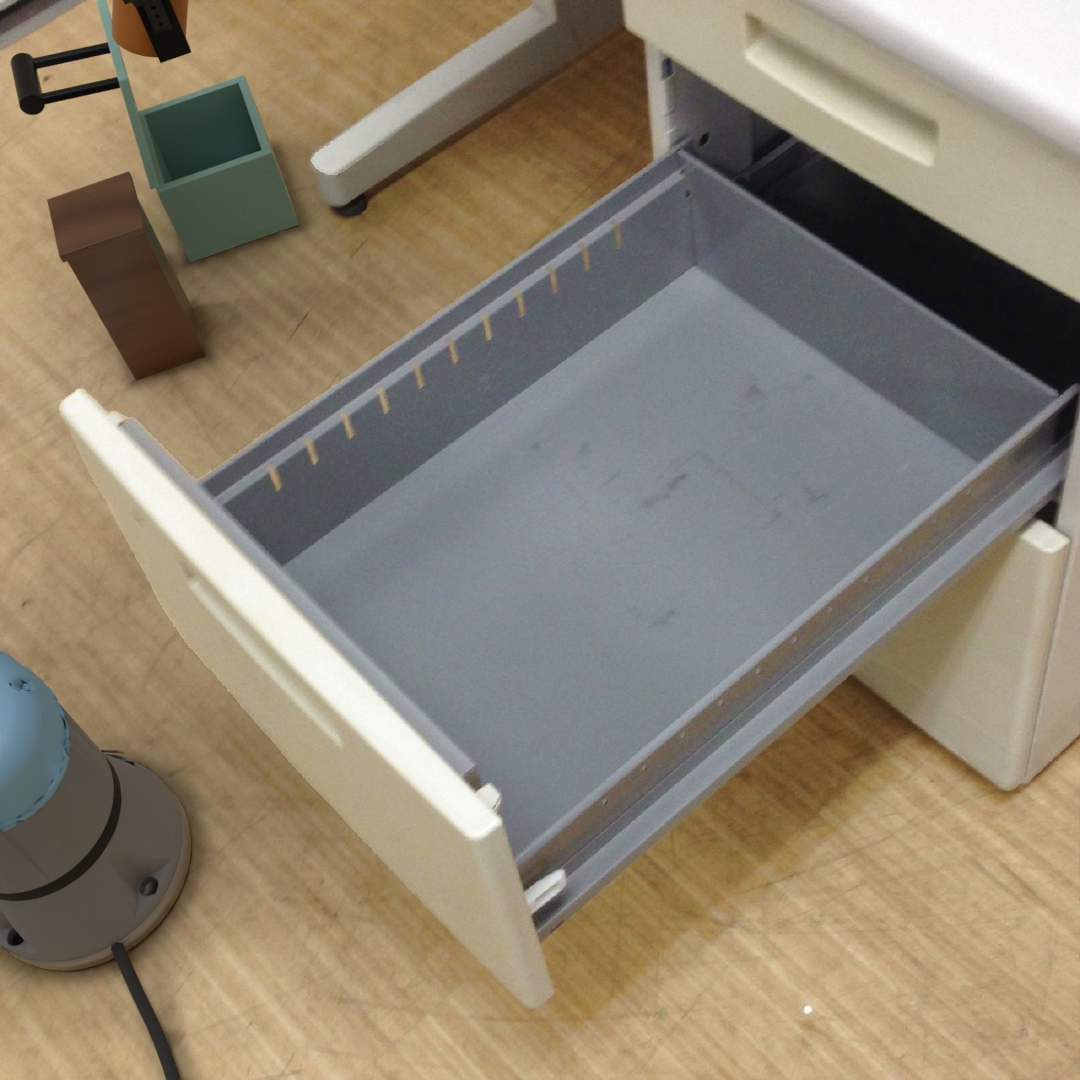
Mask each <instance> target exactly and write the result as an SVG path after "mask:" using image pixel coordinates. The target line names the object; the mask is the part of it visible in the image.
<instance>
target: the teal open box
mask: <svg viewBox="0 0 1080 1080" xmlns="http://www.w3.org/2000/svg"><path fill="white" fill-rule="evenodd" d="M138 113H139V116H140V120H141V123H142V127H143V130H144V134H145V137H146V141H147V144H148V148H149V152H150V155H151V159H152V162H153V166H154V169H155V173H156V176H157V180H158V183H159V187H158V188H155V190H156V194H157V196H158V197H159V199H160V202H161V204H162V206H163V208H164V210H165V213H166V215H167V216H168V218H169V220H170V222H171V224H172V226H173V229H174V231H175V232H176V234H177V237H178V239H179V241H180V243H181V246H182V247H183V249H184V252H185V253H186V256H187V258H188V260H189V262H190V263H193V262H196V261H200V260H202V259H204V258H208V257H211V256H213V255H217V254H219V253H222V252H225V251H227V250H230V249H233V248H236V247H239V246H242V245H245V244H248V243H250V242H253V241H257V240H259V239H262V238H264V237H268V236H270V235H274V234H276V233H279V232H282V231H285V230H287V229H291V228H294V227H296V226H299V225H300V222H299V221H300V220H299V219H298V215H297V213H296V210H295V208H294V205H293V202H292V199H291V196H290V194H289V191H288V187H287V185H286V182H285V179H284V177H283V174H282V171H281V168H280V166H279V163H278V159H277V157H276V154H275V152H274V149H273V146H272V143H271V140H270V139H269V136H268V132H267V130H266V128H265V126H264V122H263V120H262V117H261V115H260V112H259V109H258V107H257V105H256V102H255V99H254V97H253V94H252V91H251V89H250V86H249V84H248V81H247V77H246V76H245V74H243V75H239V76H237V77H234V78H231V79H228V80H224V81H222V82H219V83H217V84H213V85H211V86H208V87H205V88H202V89H199V90H196V91H194V92H190V93H187V94H184V95H181V96H178V97H176V98H172V99H170V100H166V101H164V102H161V103H158V104H155V105H153V106H149V107H147V108H143V109H141V110H138Z"/></svg>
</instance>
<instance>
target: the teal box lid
mask: <svg viewBox="0 0 1080 1080" xmlns="http://www.w3.org/2000/svg"><path fill="white" fill-rule="evenodd" d="M96 5H97V8H98V12H99V16H100V20H101V23H102V28H103V30H104V35H105V38H106V41H107V42H102V43H97V44H93V45H89V46H84V47H79V48H75V49H70V50H64V51H60V52H56V53H51V54H45V55H41V56H37V57H34V56H33V55H31V54H29V53H27V52H19V53H16V54H14V55H13V56H12V57H11V59H10V68H11V72H12V77H13V82H14V86H15V91H16V95H17V101H18V105H19V108H20V111H22V112H23V113H24V114H26V115H29V116H36V115H39V114H40V113H42V112H43V111H44V109H45V107H46V106H45V105H51V104H54V103H58V102H59V103H60V102H63V101H67V100H72V99H76V98H81V97H86V96H91V95H95V94H99V93H104V92H109V91H114V90H118V89H120V91H121V95H122V99H123V101H124V104H125V108H126V111H127V114H128V118H129V122H130V125H131V129H132V131H133V135H134V139H135V142H136V145H137V148H138V151H139V156H140V158H141V162H142V165H143V169H144V172H145V175H146V179H147V182H148V187H149V189H150V190H154V189H156V188H158V187H159V183H158V180H157V176H156V173H155V169H154V166H153V162H152V159H151V155H150V152H149V148H148V144H147V141H146V137H145V134H144V130H143V127H142V123H141V120H140V116H139V113H138V111H139V109H138V105H137V102H136V100H135V96H134V92H133V87H132V85H131V82H130V78H129V75H128V72H127V68H126V64H125V61H124V58H123V54H122V50H121V46H120V45H118V44H117V43H116V41H115V40H114V38H113V36H112V15H111V13H110V9H109V6H108V2H107V0H96ZM109 54H110V56H111V59H112V63H113V66H114V70H115V74H116V76H115V77H110V78H105V79H101V80H96V81H92V82H88V83H87V82H86V83H83V84H78V85H73V86H70V87H64V88H60V89H55V90H51V91H47V92H43V89H42V86H41V82H40V77H39V76H40V75H39V73H38V69H44V68H48V67H54V66H57V65H63V64H66V63H71V62H75V61H80V60H85V59H89V58H94V57H98V56H99V57H100V56H105V55H109Z"/></svg>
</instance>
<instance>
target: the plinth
mask: <svg viewBox="0 0 1080 1080" xmlns="http://www.w3.org/2000/svg"><path fill="white" fill-rule="evenodd" d="M133 178H134V177H132V174H131V172H130V171H125V172H123V173H120V174H117V175H114V176H111V177H108V178H105V179H102V180H100V181H99V180H98V181H97V182H93V183H91V184H88V185H85V186H82V187H79V188H76V189H74V190H70V191H68V192H64V193H62V194H59V195H56V196H54V197H53V196H52V197H51V198H48V199H46V201H47V202H46V203H47V206H48V211H49V216H50V220H51V224H52V230H53V234H54V239H55V243H56V247H57V252H58V256H59V258H60V260H61V262H62V263H66V262H67V263H68V265H69V267H70V268H71V270H72V272H73V274H74V275H75V277H76V279H77V280H78V283H79V284H80V286H81V288H82V289H83V291H84V293H85V294H86V296H87V298H88V300H89V301H90V303H91V305H92V307H93V308H94V310H95V312H96V313H97V316H98V317H99V319H100V320H101V322H102V324H103V326H104V327H105V330H106V331H107V332H108V333H107V334H109V336H110V338H111V340H112V341H113V343H114V345H115V347H116V349H117V351H118V352H119V353H120V355H121V357H122V359H123V361H124V362H125V364H126V366H127V367H128V369H129V371H130V373H131V374H132V376H133V378H134V380H135V381H139V380H142V379H145V378H148V377H150V376H154V375H156V374H158V373H162V372H165V371H167V370H170V369H173V368H176V367H179V366H182V365H185V364H188V363H189V362H193V361H195V360H199V359H201V358H203V357H206V352H205V349H204V347H203V342H202V339H201V335H200V331H199V328H198V324H197V320H196V318H195V313H194V310H193V307H192V305H191V303H190V300H189V299H188V296H187V294H186V292H185V290H184V288H183V287H182V286H183V285H182V284H181V282H180V280H179V278H178V276H177V274H176V272H175V271H174V268H173V266H172V264H171V262H170V260H169V259H168V255H167V254H166V252H165V249H164V248H163V246H162V243H161V241H160V240H159V238H158V236H157V234H156V232H155V229H154V227H153V225H152V224H151V222H150V220H149V218H148V216H147V214H146V212H145V210H144V208H143V206H142V204H141V202H140V199H139V198H138V193H137V190H136V186H135V182H134V179H133Z"/></svg>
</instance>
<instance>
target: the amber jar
mask: <svg viewBox="0 0 1080 1080" xmlns="http://www.w3.org/2000/svg"><path fill="white" fill-rule="evenodd" d="M170 1H171V4H172V6H173V8H174V11H175V13H176V16H177V18H178V20H179V23H180V25H181V27H182V30H183V32H184V35H185V37H186V38H187V25H188V13H189V0H170ZM111 10H112V12H111V14H112V15H111V19H112V36H113V38H114V40H115V41H116V43H117V44H118V45H119V47H120V48H122V49H123V50H125V51H127V52H129V53H132V54H134V55H137V56H141V57H146V58H158V56H157V54H156V52H155V50H154V47H153V45H152V43H151V41H150V38H149V36H148V34H147V32H146V29H145V27H144V25H143V23H142V20H141V18H140V16H139V14H138V11H137V9H136V7H135V6H133V3H128V4H124V1H123V0H112V9H111Z"/></svg>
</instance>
